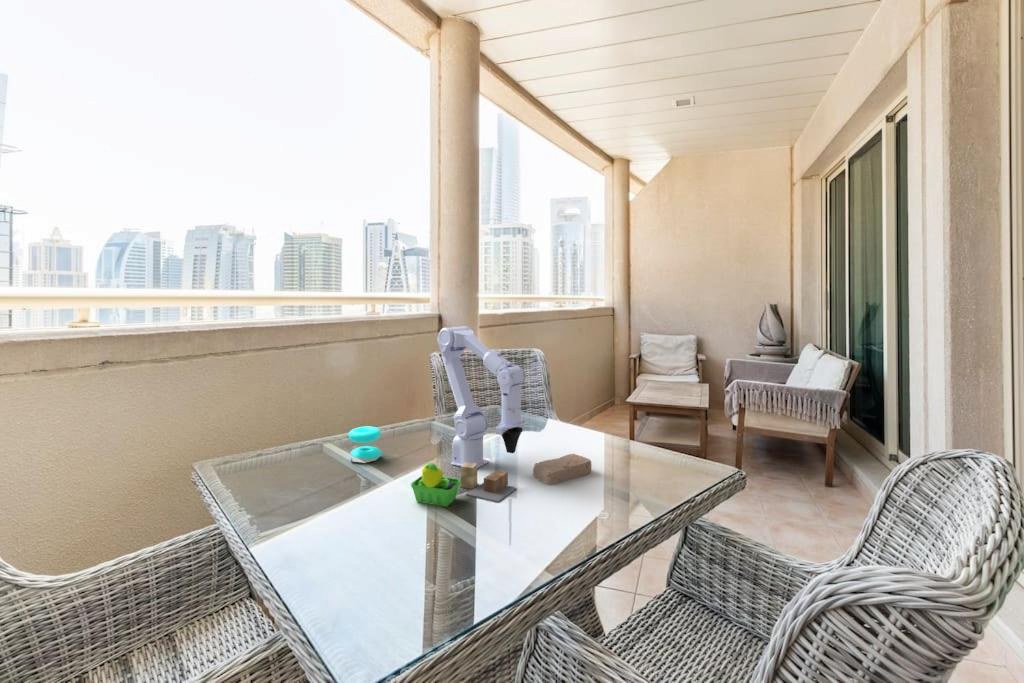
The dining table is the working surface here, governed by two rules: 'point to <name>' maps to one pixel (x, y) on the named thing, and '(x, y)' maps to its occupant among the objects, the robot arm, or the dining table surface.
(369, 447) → the donuts
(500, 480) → the walnut block
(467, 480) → the oak block
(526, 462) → the dining table surface
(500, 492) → the mat
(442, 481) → the fruit basket
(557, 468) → the brick
